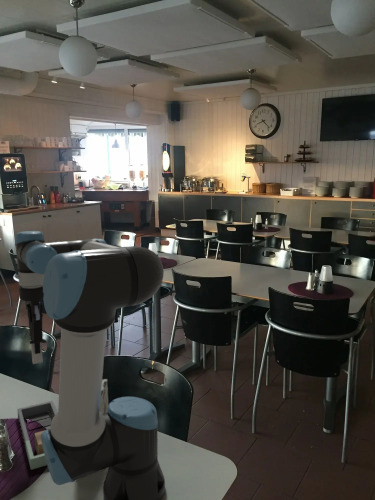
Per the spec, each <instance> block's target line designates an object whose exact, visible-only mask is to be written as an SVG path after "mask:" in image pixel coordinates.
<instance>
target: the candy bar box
mask: <svg viewBox="0 0 375 500" xmlns="http://www.w3.org/2000/svg"><path fill="white" fill-rule="evenodd" d="M108 385H109V384H108V379H107V378H102V387H101V399H100V412H101V413H102V414H103V413H106V412H108V411H107V408H108V405H109V387H108Z"/></svg>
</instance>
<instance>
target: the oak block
mask: <svg viewBox="0 0 375 500" xmlns="http://www.w3.org/2000/svg"><path fill="white" fill-rule="evenodd" d="M46 430H47V429H46ZM46 430H42V431H38V432H34V442H35V443H34V444H35V445H34V446H35V450H36V455H40V454H43V453H44V450H43V446H42V441H41V434H42V432H44V431H46Z"/></svg>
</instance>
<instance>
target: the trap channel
mask: <svg viewBox="0 0 375 500" xmlns="http://www.w3.org/2000/svg"><path fill="white" fill-rule="evenodd" d="M49 412H50V413H51V415H52V418H53V417H54V416H55V415H56V414H57V413H58V411H57V408H56V405H55V403H54V401H53V400H50V401H46V402H42V403H37V404H33V405H32V404H31V405H29V406H23V407H20V408H17V418H18V419H19V420H18V423H19V422H20V424H19V427H20V426H21V428H20V431H21V430H22V432H21V435H23V436H22V439H24V440H23V443H25V444H24V447H25V451H26V455H27V460H28V463H29V467H30V470H31V471H32V470H35V469H39V468H41V467H46V466H48V465H47V462H46V458H45V454H44V453H43V454H40V455H37V454H36V455H34V453H33V448H32V445H31V441H30V438H29V433H28V431H27V430H28V429H27V427H26V426H27V425H26V421H25V420H26V419H29V420H35V421H34V422H39V423H40V424H41V425H42V426H43V427H42V428H45V427H49V426H51V421H52V419H51V417H50V414H49ZM24 418H25V419H24Z"/></svg>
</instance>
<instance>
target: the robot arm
mask: <svg viewBox="0 0 375 500" xmlns="http://www.w3.org/2000/svg"><path fill="white" fill-rule="evenodd" d="M14 246H15V247H16V250H15V251H16V260H17V261H16V263H17V273H18V274H16V275H15V278H16V279H18V285H19V287H18V292H19V293H18V294H19V299H20V300H21V301H23V302H27V303H26V304H25V308H26V311H27V312H26V313H27V319H28V330H29V337H30V341H29V344H30V345H31V346H30V347H31V359H32V365H35V364H40V363H43V360H44V359H43V345H42V343H43V341H44V340H43V339H44V338H43V316H44V314H43V305H44V309H45V312H46V315H47V316H48V317H49V318H50V319H52V320H53V323H54V324H55V325H56V327H58V328H59V329H60V349H59V350H60V352H59V357H60V359H59V382H58V384H59V385H58V387H59V388H58V411H57V412H58V413H57V414H56V415H55V416H54V417H53V416H52V419H51V425H50V428H48V429H46V431H45V430H43V431H44V432H42V434H41V441H42V446H43V450H44V454H45V458H46V462H47V465H46V466H47V469H48V472H49V474H50V477H51V479H52V481H53V483H54V484H55V485H58V486H61V485H65V484H68V483H74V482H75V481H77V480H81V479H82V478H85V477H88V476H91V475H93V474H95V473H98V472H101V471H104V470H106V469H107V472H106V475H105V478H104V481H103V486H102V489H103V490H102V491H103V500H163V498H164V495H165V493H166V480H165V479H166V478H165V476H164V473H163V470H162V468H161V465H160V462H159V458H158V454H159V453H158V450H159V449H158V442H159V441H158V426H159V421H158V414H157V413H158V412H157V409H156V407H155V406H154V404H153V403H152V402H151V401H150V400H149V401H148V400H147V399H144V398H141V397H137V396H121V397H117V398H115V399H112V401H110V402H109V403H108V408H107V411H108V412H106V413H103V414H102V413H101V412H100V399H101V387H102V379H103V376H104V375H103V373H104V360H105V349H106V338H107V337H106V335H107V330H108V329H109V328H111V327H112V326H113V325H114V323H115V320H116V313H117V309H123V308H127V307H128V308H129V307H132V306H133V307H134V306H137V305H140V304H143V303H144V302H147V301H149V299H151V298H152V297H153V296H155V294H156V293H157V292H158V291H159V290H160V288H161V285H162V283H163V279H164V274H165V273H164V266H163V262H162V260H161V258H160V257H159V256H158V254H157V253H155V252H154V251H153V250H151V249H149V248H147V247H141V246H136V245H133V246H132V245H131V246H121V247H120V246H116V245H111V244H108V243H107V242H106V240H104V238H89V239H79V240H64V241H51V242H46V241H45V237H44V233H43V232H42V231H40V230H39V231H38V230H26V231H19V232H17V233H16V235H15V245H14ZM41 300H43V305H42V304H41V302H40V301H41Z"/></svg>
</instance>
